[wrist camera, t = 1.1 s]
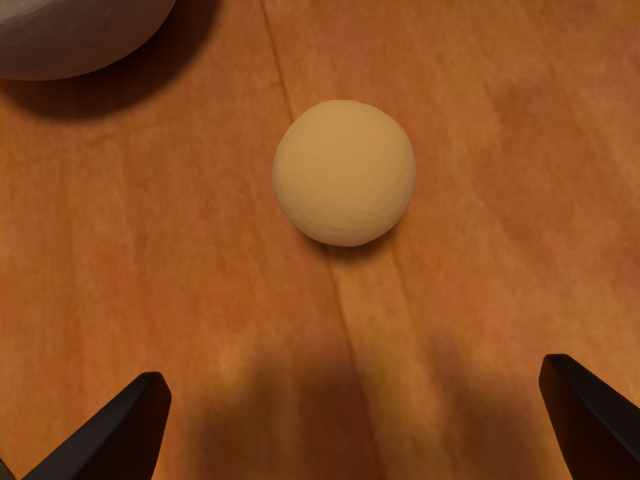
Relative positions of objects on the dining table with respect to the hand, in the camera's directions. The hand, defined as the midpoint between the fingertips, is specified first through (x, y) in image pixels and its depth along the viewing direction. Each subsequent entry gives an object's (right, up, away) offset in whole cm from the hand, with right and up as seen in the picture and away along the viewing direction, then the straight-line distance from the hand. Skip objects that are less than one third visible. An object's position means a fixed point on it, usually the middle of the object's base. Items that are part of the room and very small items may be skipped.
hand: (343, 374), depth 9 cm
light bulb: (+1, +4, +15) cm, 16 cm away
